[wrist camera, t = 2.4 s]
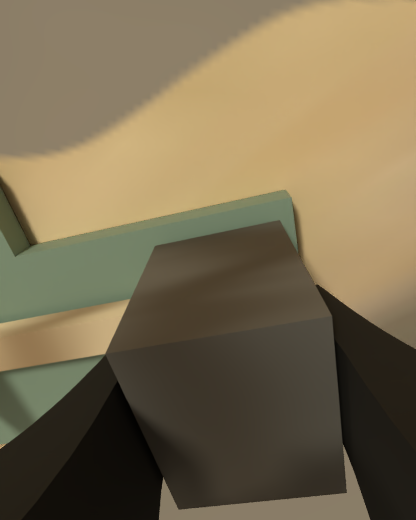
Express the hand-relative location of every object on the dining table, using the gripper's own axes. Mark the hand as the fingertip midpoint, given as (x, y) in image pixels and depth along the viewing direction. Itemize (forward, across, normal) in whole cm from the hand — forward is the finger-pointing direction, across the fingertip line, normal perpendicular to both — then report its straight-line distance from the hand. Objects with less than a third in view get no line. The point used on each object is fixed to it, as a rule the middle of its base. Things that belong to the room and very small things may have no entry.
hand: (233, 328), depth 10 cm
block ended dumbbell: (+2, +5, 0) cm, 5 cm away
